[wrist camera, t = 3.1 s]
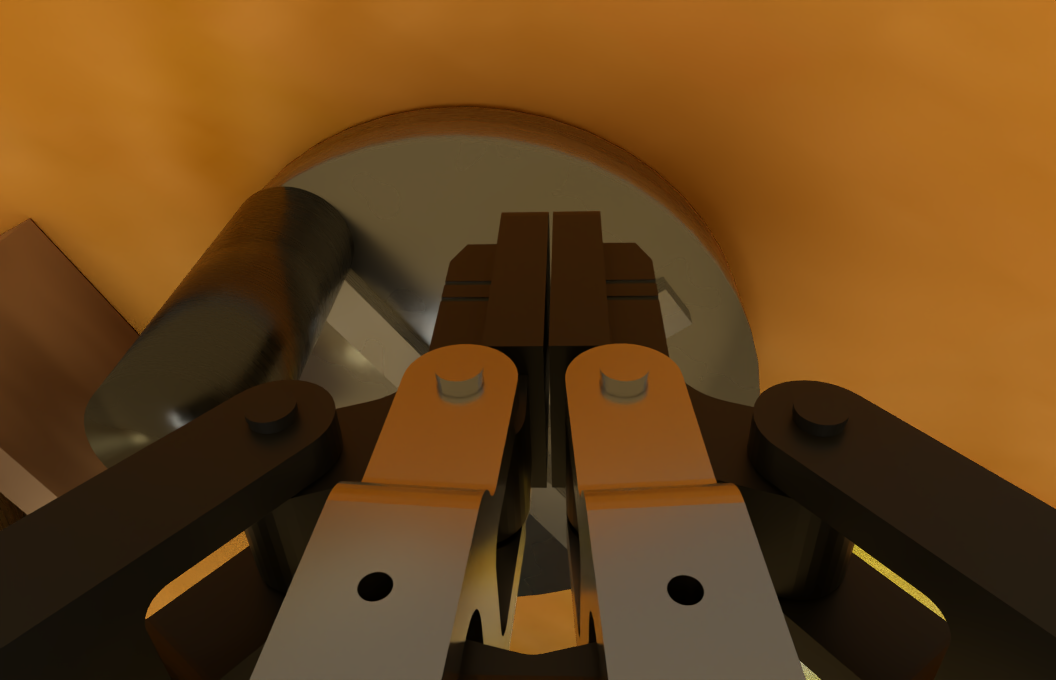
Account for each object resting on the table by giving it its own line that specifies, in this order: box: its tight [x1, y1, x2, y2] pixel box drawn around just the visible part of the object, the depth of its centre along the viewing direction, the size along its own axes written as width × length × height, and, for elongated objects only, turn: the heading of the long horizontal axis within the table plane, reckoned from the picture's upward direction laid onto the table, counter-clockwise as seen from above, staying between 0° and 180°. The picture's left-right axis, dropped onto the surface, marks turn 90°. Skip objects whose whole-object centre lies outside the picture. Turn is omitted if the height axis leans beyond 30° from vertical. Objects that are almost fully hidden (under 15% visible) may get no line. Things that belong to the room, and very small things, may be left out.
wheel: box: [84, 106, 760, 596], centre depth 17 cm, size 13×13×8 cm
